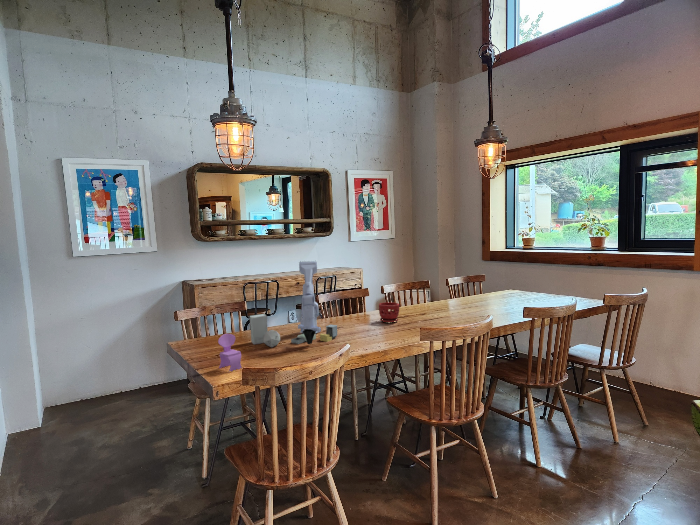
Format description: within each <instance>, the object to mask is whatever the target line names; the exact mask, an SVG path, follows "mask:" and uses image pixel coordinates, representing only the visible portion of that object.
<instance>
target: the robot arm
mask: <svg viewBox="0 0 700 525" xmlns="http://www.w3.org/2000/svg"><path fill="white" fill-rule="evenodd" d="M298 263H299V264H298V265H299V267H298V268H299V272H300V274H301V275H303V276H304V277H303V278H304V284H303V285H302V296H301V319H300V322H299V323H300V324H297V329H298V330H299V329H300V331H299V333H300V334H304V335H305V337H306V340H307V342H306V343H307V345H311V344H313V341H314V340H313V337H314V334H315V335H316V334H317V333H321V331H322V328H321V327H320V326H318V323H317V319H318V318H317V317H319V314H320V313H319V312H320V310H319V304H318V302H316V301H315V300H316V299H315V298H316V297H315V293H314V292H315V291H314V286H315V285H314V283H313V282H314V279H313V278H314V277H313V276H314V275H316V274H317V272H318V261H316V260H311V261H310V260H308V261H307V260H306V261H305V260H304V261H301V260H300V261H299V262H298Z"/></svg>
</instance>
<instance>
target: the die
mask: <svg viewBox="0 0 700 525" xmlns="http://www.w3.org/2000/svg"><path fill="white" fill-rule="evenodd" d="M263 342H264V343H263V344H265V345H266V346H267V347H270V348H275V347H277V345H278V344H279V343H280V342H281V334H280V333H279V332H278V331H277V330H274V329H270V330H268V331H267V332H266V333H265V335H264V336H263Z"/></svg>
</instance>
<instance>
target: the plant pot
mask: <svg viewBox="0 0 700 525" xmlns="http://www.w3.org/2000/svg"><path fill="white" fill-rule="evenodd" d="M378 312H379V316H380V319H379V321H380V322H381V321H383V322H394V321H397V322H398V321H399V314H400V303H398V302H389V301H388V302H380V303H379V304H378ZM382 319H383V320H382ZM396 319H397V320H396ZM383 322H382V323H383Z"/></svg>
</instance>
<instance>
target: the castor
mask: <svg viewBox="0 0 700 525" xmlns="http://www.w3.org/2000/svg"><path fill="white" fill-rule="evenodd" d="M325 330H326V331H325V334H327V335H329V337H332V340H333V339H334V340H335V339H336V338H337V336H338V325H337V324H328V325H325Z"/></svg>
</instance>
